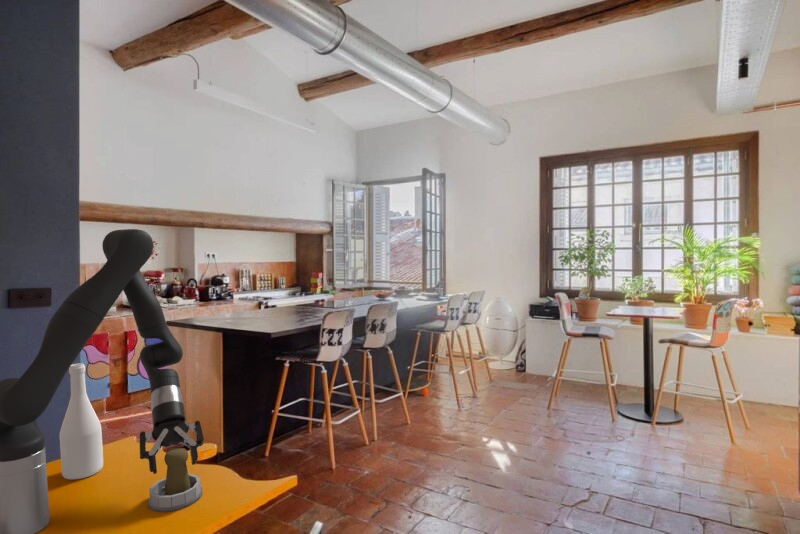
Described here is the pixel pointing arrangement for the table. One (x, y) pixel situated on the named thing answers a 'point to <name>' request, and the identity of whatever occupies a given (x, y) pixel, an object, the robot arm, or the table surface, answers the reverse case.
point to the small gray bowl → (174, 496)
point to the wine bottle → (80, 432)
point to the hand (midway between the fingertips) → (175, 467)
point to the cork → (176, 471)
